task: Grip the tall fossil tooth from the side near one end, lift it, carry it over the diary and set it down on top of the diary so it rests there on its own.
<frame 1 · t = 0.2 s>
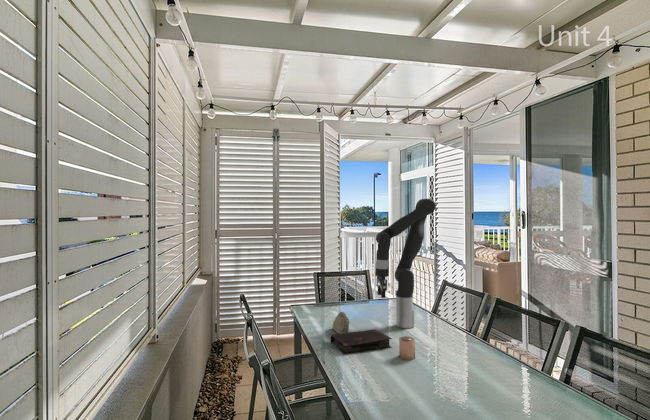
hand: (381, 296, 212), 18 cm above the table, tool pointing down, fingers open, 8 cm apart
peach glossy cylinder: (407, 356, 169), on the table
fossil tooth: (340, 332, 205), on the table
diary: (360, 346, 184), on the table
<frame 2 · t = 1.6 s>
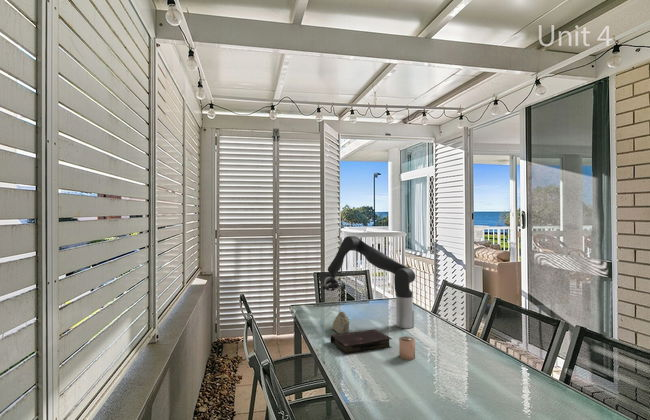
hand: (335, 288, 220), 20 cm above the table, tool horizontal, fingers open, 8 cm apart
nothing on the table moved.
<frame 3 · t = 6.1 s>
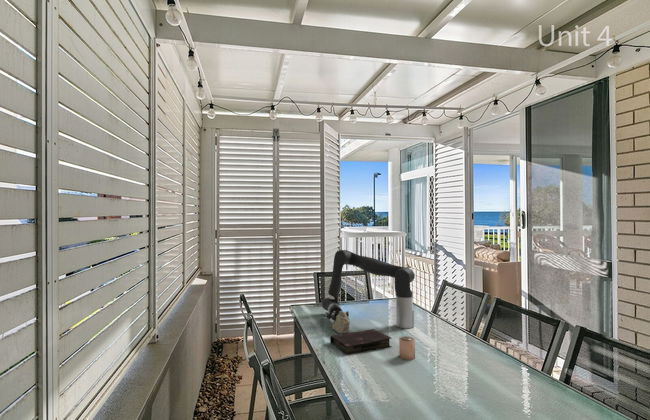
hand: (340, 318, 207), 7 cm above the table, tool horizontal, fingers closed on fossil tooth, 5 cm apart
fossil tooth: (340, 331, 206), on the table, touching gripper
everything else where it was.
when the fingers open (13 cm above the table, at t = 11.8 s): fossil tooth drops 2 cm, resting on diary.
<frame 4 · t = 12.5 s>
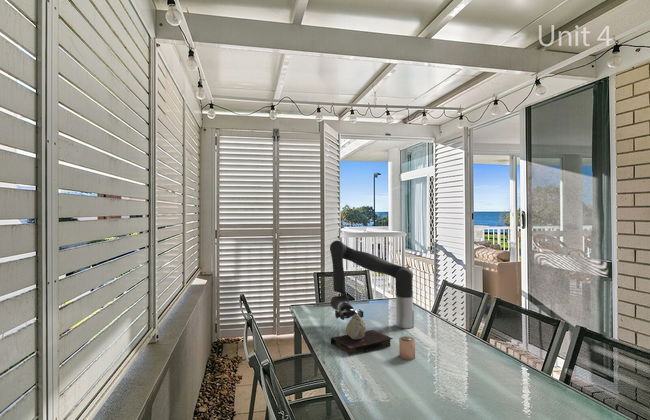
hand: (351, 317, 186), 13 cm above the table, tool horizontal, fingers open, 8 cm apart
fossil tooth: (355, 337, 184), point 4 cm above the table, touching diary
diary: (361, 347, 184), on the table, touching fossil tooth
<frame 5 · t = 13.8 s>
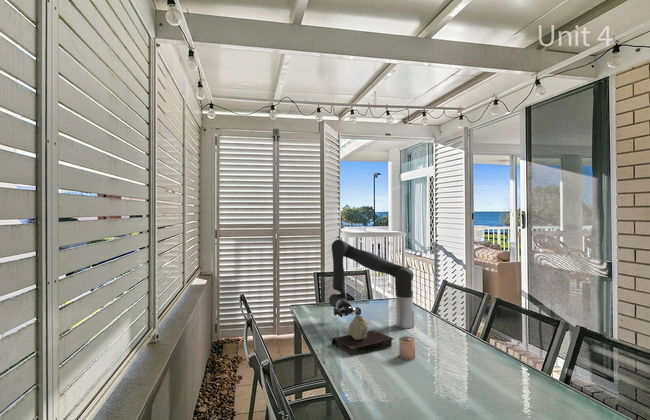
hand: (349, 314, 191), 13 cm above the table, tool horizontal, fingers open, 8 cm apart
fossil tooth: (357, 337, 184), point 4 cm above the table, touching diary
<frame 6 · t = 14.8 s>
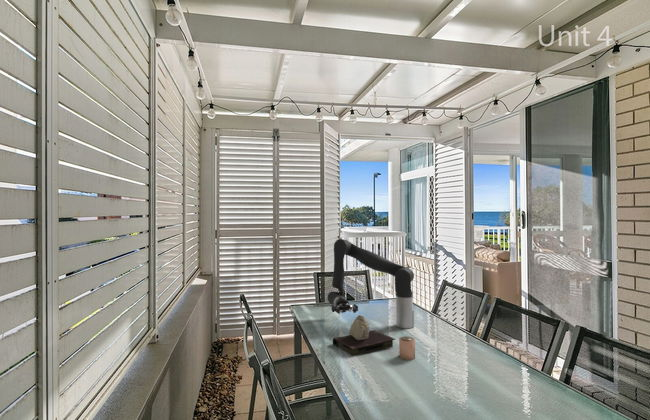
hand: (347, 311, 198), 13 cm above the table, tool horizontal, fingers open, 8 cm apart
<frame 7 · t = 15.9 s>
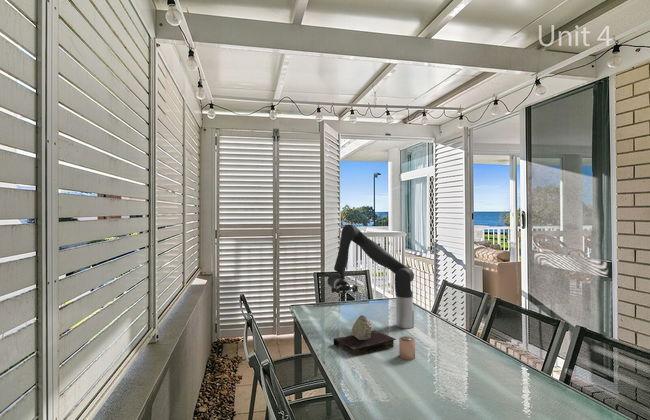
hand: (346, 291, 199), 23 cm above the table, tool horizontal, fingers open, 8 cm apart
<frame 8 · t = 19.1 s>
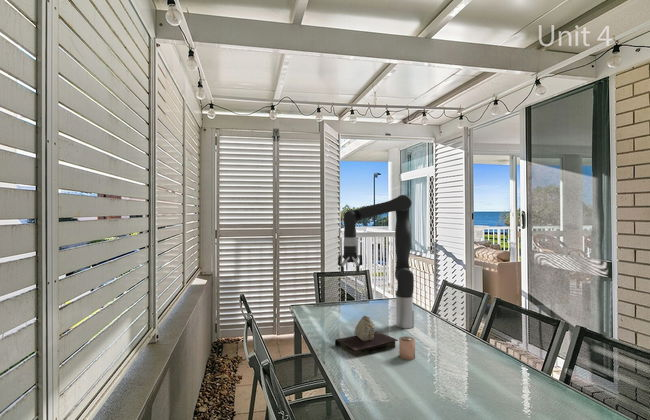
hand: (350, 272, 218), 30 cm above the table, tool pointing down, fingers open, 8 cm apart
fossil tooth: (364, 338, 183), point 4 cm above the table, touching diary
diary: (366, 349, 182), on the table, touching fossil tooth
at the end: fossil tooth inside the target area on the diary (2.0 cm from its centre), point 5.0 cm above the diary's base; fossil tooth touching diary; the gripper is holding nothing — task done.
